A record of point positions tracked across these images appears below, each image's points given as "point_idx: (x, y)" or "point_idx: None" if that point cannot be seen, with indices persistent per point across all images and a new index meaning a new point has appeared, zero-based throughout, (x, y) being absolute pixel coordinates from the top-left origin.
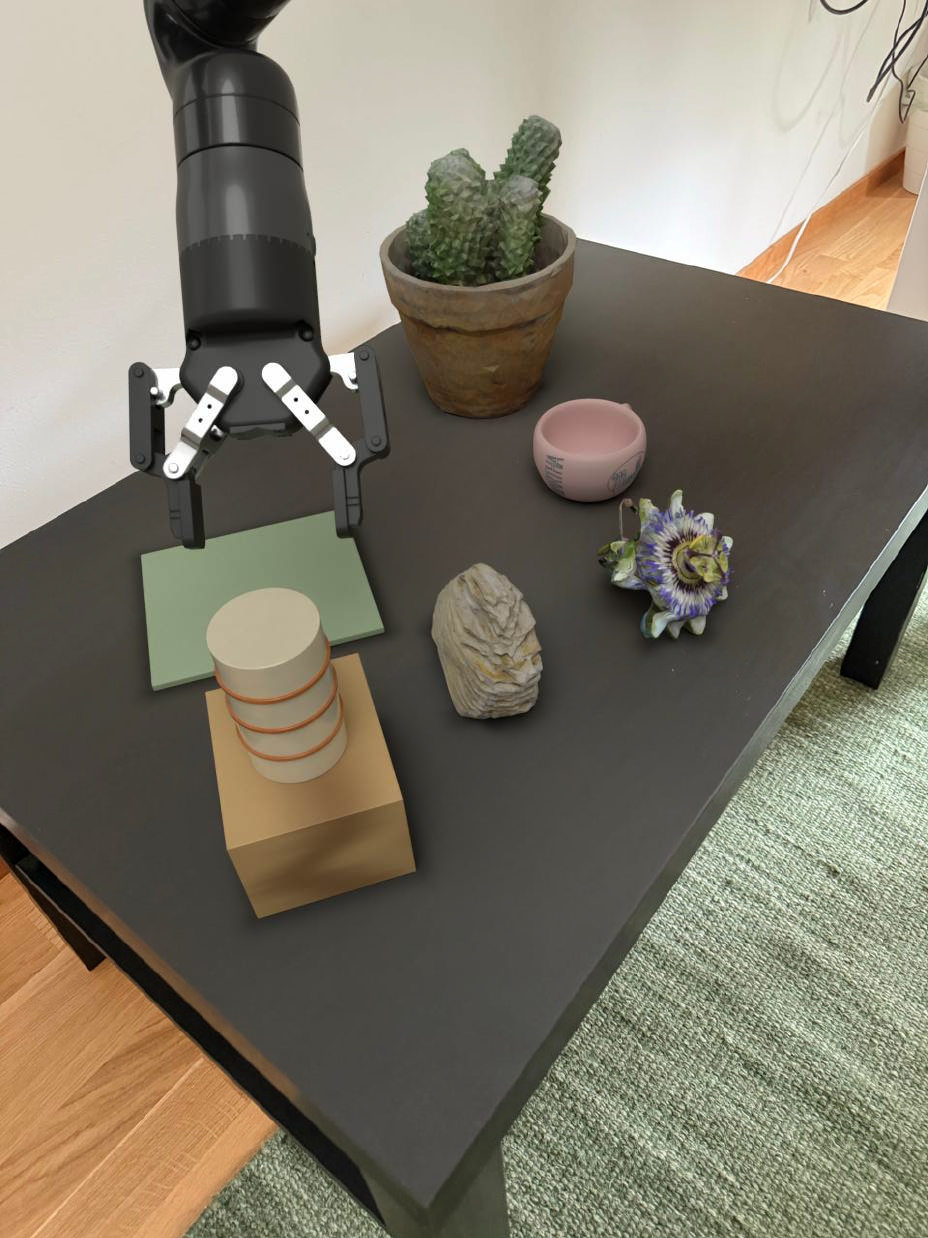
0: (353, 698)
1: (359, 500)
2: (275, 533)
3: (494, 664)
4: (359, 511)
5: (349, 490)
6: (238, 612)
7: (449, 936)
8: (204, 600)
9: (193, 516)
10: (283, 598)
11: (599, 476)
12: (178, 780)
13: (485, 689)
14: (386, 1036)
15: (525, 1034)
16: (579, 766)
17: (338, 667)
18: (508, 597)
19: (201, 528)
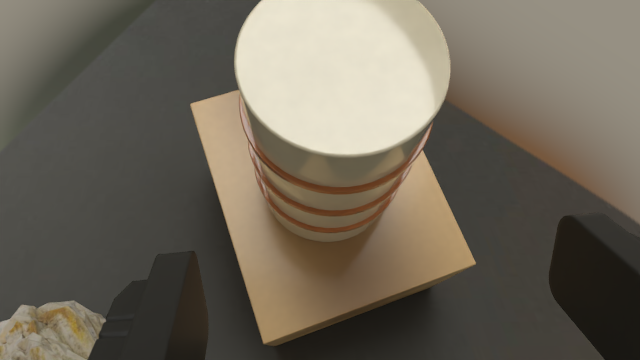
0: (261, 251)
1: (101, 333)
2: None
3: (55, 331)
4: (112, 304)
5: (120, 351)
6: (401, 91)
7: (186, 106)
8: None
9: (610, 261)
10: (317, 122)
11: None
12: (488, 267)
13: (86, 310)
14: (237, 35)
15: (130, 36)
16: (28, 290)
17: (290, 311)
18: None
19: (579, 302)
